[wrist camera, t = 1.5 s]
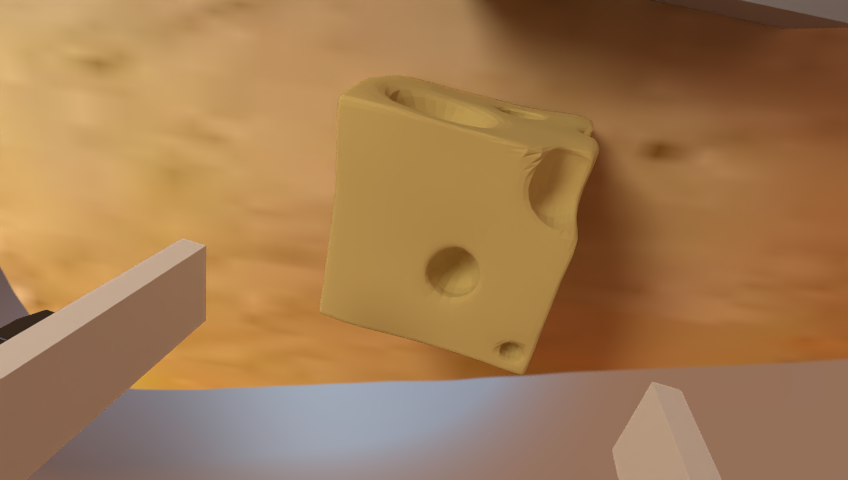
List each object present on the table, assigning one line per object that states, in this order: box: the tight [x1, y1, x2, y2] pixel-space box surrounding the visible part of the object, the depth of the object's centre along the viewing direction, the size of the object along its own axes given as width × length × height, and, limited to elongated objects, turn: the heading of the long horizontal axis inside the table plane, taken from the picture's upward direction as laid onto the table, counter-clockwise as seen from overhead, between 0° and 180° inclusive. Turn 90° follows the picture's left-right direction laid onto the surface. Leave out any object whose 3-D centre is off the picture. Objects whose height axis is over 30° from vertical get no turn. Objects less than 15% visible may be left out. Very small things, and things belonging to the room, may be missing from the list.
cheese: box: [319, 76, 599, 375], centre depth 22 cm, size 10×11×10 cm
